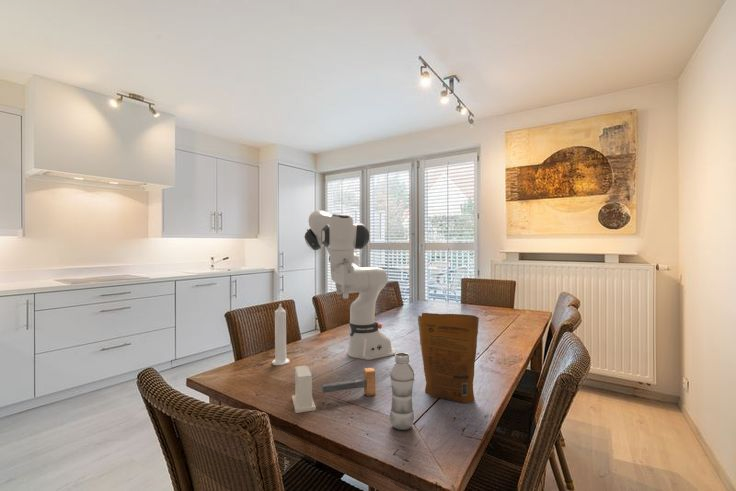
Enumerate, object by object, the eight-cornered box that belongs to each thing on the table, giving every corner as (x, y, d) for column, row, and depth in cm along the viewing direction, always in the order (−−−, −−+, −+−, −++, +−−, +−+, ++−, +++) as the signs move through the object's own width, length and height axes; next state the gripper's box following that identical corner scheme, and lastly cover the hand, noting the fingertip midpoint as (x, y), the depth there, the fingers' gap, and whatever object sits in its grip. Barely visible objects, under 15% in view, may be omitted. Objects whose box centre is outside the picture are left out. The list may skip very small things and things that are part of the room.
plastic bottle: (388, 421, 99) (387, 351, 98) (411, 420, 99) (411, 350, 99) (391, 433, 92) (391, 359, 92) (416, 432, 93) (416, 358, 92)
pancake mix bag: (477, 408, 106) (477, 317, 105) (417, 396, 114) (417, 311, 114) (480, 399, 112) (480, 313, 111) (423, 388, 120) (423, 308, 120)
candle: (285, 366, 142) (284, 305, 141) (269, 365, 143) (268, 304, 142) (292, 360, 148) (291, 302, 148) (276, 359, 150) (276, 301, 149)
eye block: (310, 395, 115) (310, 364, 114) (315, 409, 105) (315, 375, 105) (292, 398, 113) (291, 366, 113) (295, 413, 103) (295, 378, 103)
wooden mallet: (372, 390, 118) (372, 367, 118) (375, 394, 115) (375, 370, 115) (321, 398, 112) (321, 374, 112) (323, 402, 109) (322, 377, 109)
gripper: (358, 259, 117) (358, 300, 117) (343, 256, 136) (343, 291, 136) (340, 259, 115) (340, 301, 115) (327, 257, 134) (328, 292, 134)
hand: (342, 296), depth 126 cm, fingers open, 8 cm apart
